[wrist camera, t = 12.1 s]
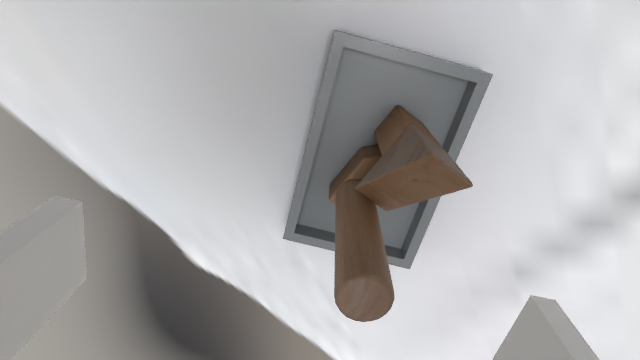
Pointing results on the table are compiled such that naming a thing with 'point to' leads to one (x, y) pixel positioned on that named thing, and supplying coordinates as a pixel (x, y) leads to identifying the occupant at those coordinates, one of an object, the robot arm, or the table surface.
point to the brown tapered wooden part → (383, 207)
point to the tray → (359, 131)
